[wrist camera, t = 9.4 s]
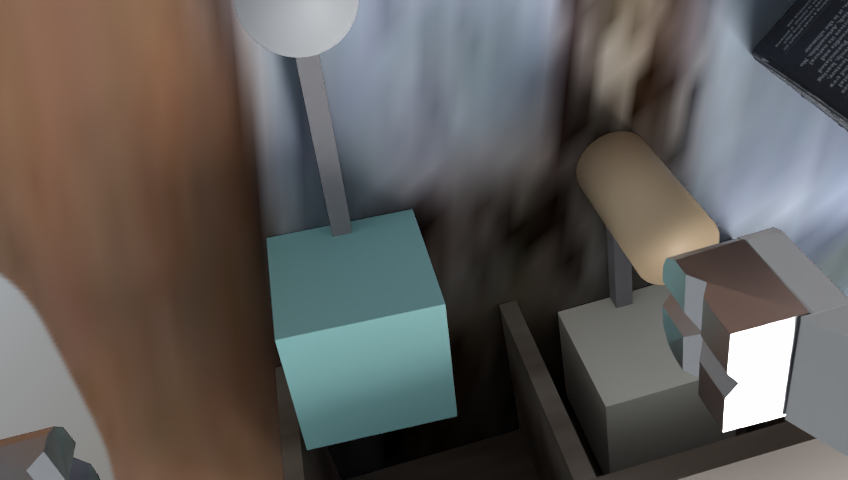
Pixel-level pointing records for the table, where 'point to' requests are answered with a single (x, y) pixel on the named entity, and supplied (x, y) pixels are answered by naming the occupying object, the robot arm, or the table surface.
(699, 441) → the cylinder on stand
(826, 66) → the small box
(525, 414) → the divided storage tray
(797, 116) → the table surface
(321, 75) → the ball-top joystick
